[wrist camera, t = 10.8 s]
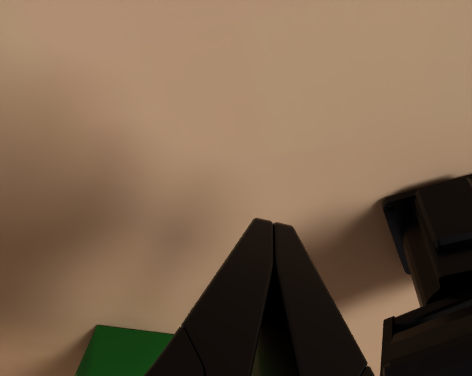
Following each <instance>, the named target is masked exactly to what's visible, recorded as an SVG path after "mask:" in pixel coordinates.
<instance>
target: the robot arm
mask: <svg viewBox="0 0 472 376" xmlns="http://www.w3.org/2000/svg"><path fill="white" fill-rule="evenodd" d="M390 205H395V206H393V207H389V206H390ZM382 207H383V211H384V213H385V216H386V219H387V222H388V225H389V228H390V231H391V234H392V236H393V239H394V242H395V245H396V248H397V251H398V254H399V256H400V259H401V262H402V265H403V268H404V271H405V272H406V273H407V274H410V275H411V276H412V280H413V283H414V287H415V290H416V294H417V297H418V301H419V304H420V308H417V309H415V310H412V311H410V312H408V313H405V314H403V315H400V316H398V317H394V316H393V317H390V318H388V319H385V320H384V323H383V339H382V355H381V370H380V376H472V175H471V176H467V177H463V178H459V179H456V180H452V181H448V182H444V183H441V184H437V185H433V186H430V187H426V188H422V189H418V190H415V191H411V192H407V193H403V194H400V195H396V196H392V197H389V198H386V199H385V200H384V201H383V203H382ZM366 366H367V361H366V359H365V357H364V356H363V354H362V352H361V350H360V348H359V346H358V345H357V343H356V341H355V339H354V337H353V335H352V334H351V332H350V330H349V328H348V326H347V324H346V323H345V321H344V319H343V317H342V315H341V313H340V312H339V310H338V308H337V306H336V304H335V302H334V301H333V299H332V297H331V295H330V293H329V292H328V290H327V288H326V286H325V284H324V282H323V281H322V279H321V277H320V275H319V273H318V271H317V270H316V268H315V266H314V264H313V262H312V260H311V259H310V257H309V255H308V253H307V251H306V249H305V248H304V246H303V244H302V242H301V240H300V238H299V237H298V235H297V233H296V231H295V229H294V228H293V227H292V226H291V225H287V224H282V223H278V222H276V223H274V224H273V223H272V222H271V221H269V220H264V219H260V218H255V219H253V221H252V222H251V223H250V225H249V226H248V228H247V229H246V231H245V232H244V234H243V235H242V237H241V238H240V240H239V241H238V243H237V244H236V245H235V247H234V248H233V250H232V251H231V253H230V254H229V256H228V257H227V259H226V260H225V262H224V263H223V265H222V266H221V267H220V269H219V270H218V272H217V273H216V275H215V276H214V278H213V279H212V281H211V282H210V284H209V285H208V286H207V288H206V289H205V291H204V292H203V294H202V295H201V297H200V298H199V300H198V301H197V303H196V304H195V306H194V307H193V308H192V310H191V311H190V313H189V314H188V316H187V317H186V319H185V320H184V322H183V323H182V325H181V327H179V329H178V330H177V331H176V333H175V334H174V336H173V337H172V339H171V340H170V342H169V343H168V344H167V346H166V347H165V348H164V350H163V351H162V353H161V354H160V355H159V357H158V358H157V359H156V361H155V362H154V363H153V365H152V366H151V367H150V368H149V369H148V371H147V372H146V373H145V374H144V375H143V376H251V374H252V376H375V375H374V373H373V372H372V370H371V368H370V367H369V366H367V367H366Z"/></svg>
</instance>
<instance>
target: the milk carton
mask: <svg viewBox="0 0 472 376" xmlns="http://www.w3.org/2000/svg"><path fill="white" fill-rule="evenodd" d="M173 336H174V335H172V334H164V333H156V332H148V331H140V330H132V329H124V328H116V327H108V326H100V325H97V326H96V329H95V331H94V333H93V335H92V338H91V340H90V342H89V345H88V347H87V349H86V352H85V354H84V356H83V358H82V361H81V363H80V365H79V367H78V370H77V372H76V374H75V376H143V375H144V374H145V373H146V372H147V371H148V369H149V368H150V367H151V366H152V365H153V363H154V362H155V361H156V359H157V358H158V357H159V355H160V354H161V353H162V351H163V350H164V348H165V347H166V346H167V344H168V343H169V342H170V340H171V339H172V337H173Z"/></svg>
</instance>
